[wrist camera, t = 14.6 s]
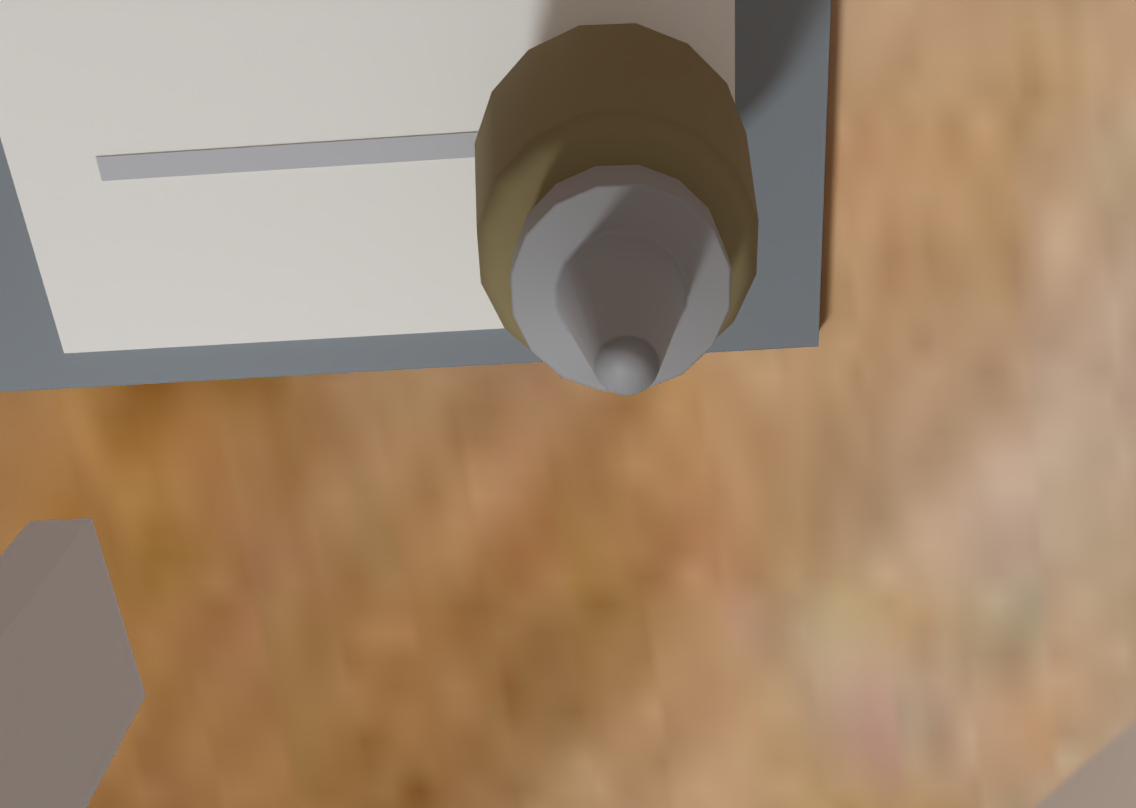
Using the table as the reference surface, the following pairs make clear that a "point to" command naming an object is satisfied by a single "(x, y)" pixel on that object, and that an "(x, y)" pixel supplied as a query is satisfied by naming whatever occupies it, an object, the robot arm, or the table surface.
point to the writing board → (327, 179)
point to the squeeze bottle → (615, 206)
